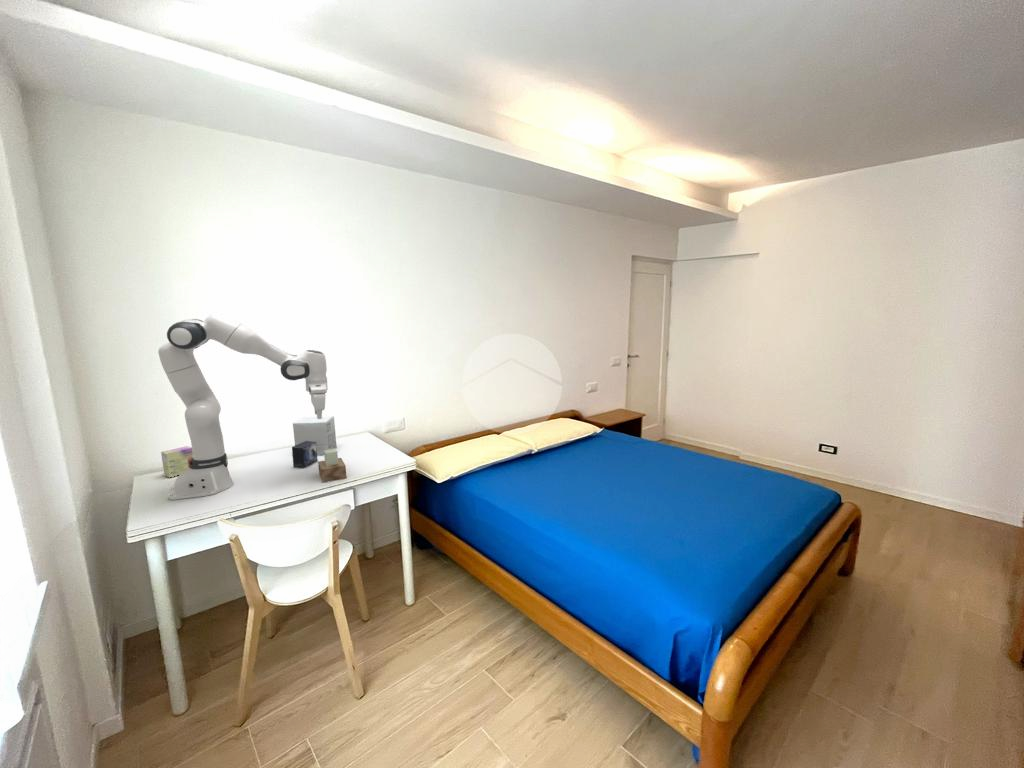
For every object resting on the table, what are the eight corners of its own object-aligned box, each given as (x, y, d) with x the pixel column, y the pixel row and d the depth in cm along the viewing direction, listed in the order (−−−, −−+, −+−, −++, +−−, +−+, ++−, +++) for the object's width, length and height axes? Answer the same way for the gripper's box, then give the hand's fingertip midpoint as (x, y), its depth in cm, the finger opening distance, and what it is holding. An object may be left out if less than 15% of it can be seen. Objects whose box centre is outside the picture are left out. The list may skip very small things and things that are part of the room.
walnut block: (322, 482, 187) (321, 469, 186) (319, 473, 197) (318, 461, 196) (346, 478, 192) (345, 465, 191) (341, 469, 202) (340, 457, 201)
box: (190, 469, 205) (186, 445, 203) (195, 471, 202) (192, 447, 200) (164, 476, 196) (160, 451, 194) (169, 478, 193) (165, 453, 191)
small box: (304, 468, 204) (302, 447, 202) (292, 467, 205) (290, 447, 203) (318, 461, 214) (316, 441, 212) (307, 460, 215) (305, 440, 214)
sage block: (326, 466, 190) (325, 453, 189) (324, 462, 194) (323, 450, 193) (338, 464, 192) (337, 451, 191) (336, 460, 197) (335, 448, 196)
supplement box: (337, 447, 236) (334, 415, 233) (329, 455, 223) (326, 422, 219) (305, 448, 234) (302, 416, 231) (295, 456, 221) (291, 423, 218)
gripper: (306, 383, 197) (308, 412, 199) (311, 390, 179) (312, 422, 181) (321, 382, 200) (323, 411, 202) (327, 389, 182) (328, 420, 185)
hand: (318, 416), depth 192 cm, fingers open, 8 cm apart
